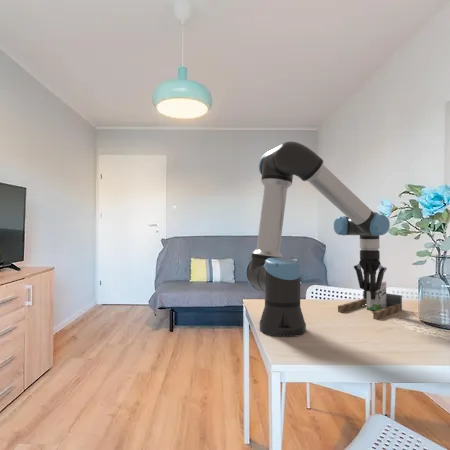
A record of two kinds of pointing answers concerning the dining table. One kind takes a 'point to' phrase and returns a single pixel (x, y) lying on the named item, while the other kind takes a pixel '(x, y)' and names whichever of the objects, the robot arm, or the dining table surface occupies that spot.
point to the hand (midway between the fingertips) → (370, 306)
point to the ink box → (379, 298)
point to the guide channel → (391, 307)
